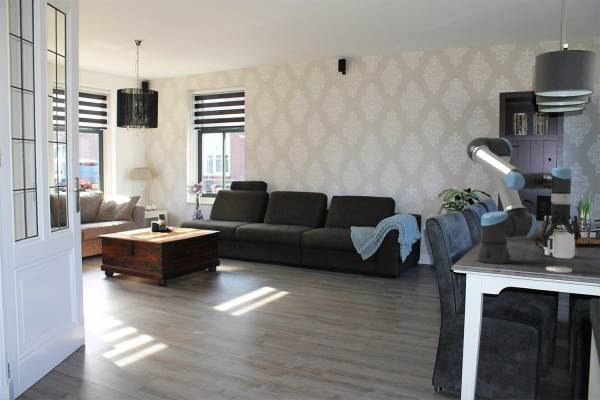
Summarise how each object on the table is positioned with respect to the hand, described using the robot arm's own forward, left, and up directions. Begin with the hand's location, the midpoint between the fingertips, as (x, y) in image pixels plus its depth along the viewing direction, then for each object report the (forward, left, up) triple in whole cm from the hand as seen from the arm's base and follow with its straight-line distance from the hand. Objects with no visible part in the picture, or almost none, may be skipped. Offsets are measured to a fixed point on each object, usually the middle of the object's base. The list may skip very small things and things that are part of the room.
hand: (559, 254), depth 221 cm
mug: (+16, +36, -7) cm, 40 cm away
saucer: (0, 0, -7) cm, 7 cm away
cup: (-1, 0, -1) cm, 1 cm away
